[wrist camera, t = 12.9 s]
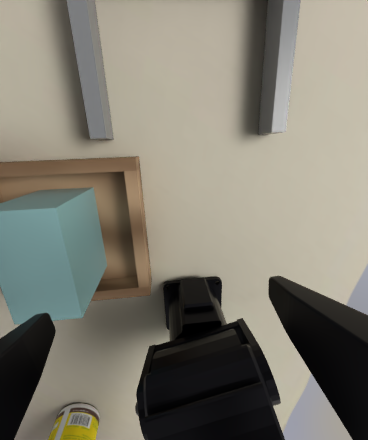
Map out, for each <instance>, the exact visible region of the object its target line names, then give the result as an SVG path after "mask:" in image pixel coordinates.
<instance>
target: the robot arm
mask: <svg viewBox="0 0 368 440" xmlns="http://www.w3.org/2000/svg"><path fill="white" fill-rule="evenodd" d="M216 281H218V282H217V283H215V282H216ZM166 286H169V287H166ZM163 290H164V302H165V314H166V326H167V329H168V330H169V332H170V341H169V342H166V343H163V344H159V345H152V346H149V349H148V353H147V356H146V360H145V363H144V367H143V370H142V374H141V378H140V381H139V385H138V388H137V394H136V395H137V403H136V414H137V415H138V416H139V421H140V426H141V430H142V434H143V436H144V439H145V440H285V439H284V436H283V433H282V430H281V427H280V425H279V422H278V419H277V416H276V413H275V411H274V408H273V406H274V405H278V404H280V403H281V402H280V396H279V393H278V389H277V386H276V383H275V380H274V378H273V375H272V372H271V370H270V367H269V365H268V363H267V360H266V358H265V356H264V354H263V352H262V350H261V348H260V346H259V344H258V343H257V341H256V339H255V338H254V336H253V334H252V333H251V331H250V330H249V328H248V326H247V325H246V323H245V321H244V320H243V318H241V319H238V320H237V321H236V322H232V323H229V324H227V323H226V320H225V318H224V315H223V312H222V310H221V293H222V281H221V279H220V278H219V277H211V278H195V279H184V280H177V281H167V282H165V283H164V285H163ZM269 298H270V300H271V302H272V304H273V306H274V308H275V311H276V313H277V315H278V317H279V319H280V321H281V323H282V325H283V327H284V329H285V331H286V333H287V334H288V336H289V338H290V339H291V341H292V343H293V344H294V346H295V348H296V349H297V351H298V352H299V354H300V356H301V357H302V359H303V360H304V362H305V364H306V365H307V367H308V368H309V370H310V372H311V373H312V375H313V376H314V378H315V380H316V381H317V383H318V384H319V386H320V388H321V389H322V391H323V393H324V394H325V395H326V397H327V399H328V400H329V402H330V404H331V405H332V407H333V408H334V410H335V412H336V413H337V415H338V416H339V418H340V420H341V421H342V423H343V425H344V426H345V428H346V429H347V431H348V433H349V434H350V436H351V437H352V439H353V440H368V315H366V314H364V313H361V312H359V311H357V310H355V309H353V308H350V307H348V306H346V305H344V304H342V303H339V302H337V301H335V300H333V299H330V298H328V297H326V296H324V295H322V294H319V293H317V292H315V291H313V290H310V289H308V288H306V287H304V286H301V285H299V284H297V283H295V282H293V281H290V280H288V279H286V278H284V277H281V276H274V277H270V278H269ZM54 336H55V326H54V324H53V322H52V319H51V317H50V315H49V314H48V313H40V314H36V315H34V316H33V317H31V318H30V319H28V320H27V321H25V322H24V323H22V324H21V325H20V326H18V327H17V328H15V329H14V330H12V331H11V332H9V333H8V334H7V335H5V336H4V337H2V338H1V339H0V440H14V438H15V436H16V434H17V431H18V429H19V427H20V424H21V422H22V420H23V417H24V415H25V413H26V410H27V408H28V406H29V404H30V401H31V399H32V397H33V394H34V392H35V390H36V387H37V385H38V383H39V380H40V378H41V375H42V372H43V369H44V366H45V363H46V360H47V357H48V354H49V351H50V348H51V345H52V342H53V339H54Z"/></svg>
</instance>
